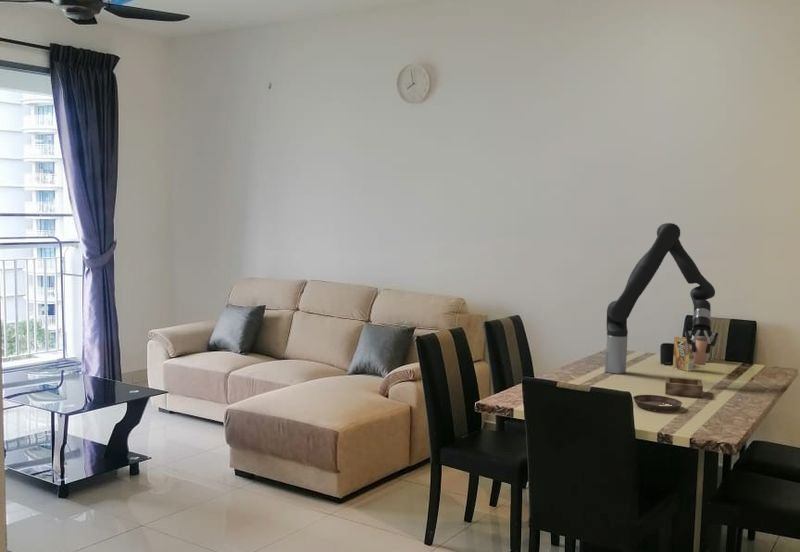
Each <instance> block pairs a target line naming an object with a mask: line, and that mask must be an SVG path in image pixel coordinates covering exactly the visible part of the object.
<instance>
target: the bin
mask: <svg viewBox="0 0 800 552" xmlns="http://www.w3.org/2000/svg"><path fill="white" fill-rule="evenodd" d="M703 385H704V384H703V381H702V379H699V378H688V377H675V376H665V386H664V387H665V389H664V390H665V391H664V392H665V393H664V395H665V394H669V395H668V396H675V395H678V396H677V397H685V396H689V398H696V399H703V392H704V391H703Z"/></svg>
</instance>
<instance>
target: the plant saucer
mask: <svg viewBox="0 0 800 552" xmlns="http://www.w3.org/2000/svg"><path fill="white" fill-rule="evenodd" d="M632 399H633V402H634V403H635V404H636V406H637V407H639V408H641V407H642V408H641V409H643V408H645V409H644V410H647V409H650V410H649V411H651V410H656V411H655V412H658V411H671V412H676V411H677V410H678V409H679V408H680V407H681V406H682V405H683V402H682V401H681V400H678V399H676V398H673V397H669V396H663V395H655V394H637V395H634V396H633V397H632ZM663 403H664V404H663ZM665 404H669V405H672V406H659V405H665ZM675 410H676V411H675Z"/></svg>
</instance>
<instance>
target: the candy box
mask: <svg viewBox="0 0 800 552" xmlns="http://www.w3.org/2000/svg"><path fill="white" fill-rule="evenodd" d="M673 338H674V339H673V344H674V356H673V366H672V369H675V368H677V369H676V370H680V369H681V371H685V370H686V371H685V372H691V371H694V365H695V364H694V352H693V351H692V345H691V344H688V343H687V340H686V336H675V337H673ZM691 340H693V339H692V338H691Z"/></svg>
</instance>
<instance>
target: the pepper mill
mask: <svg viewBox="0 0 800 552" xmlns="http://www.w3.org/2000/svg"><path fill="white" fill-rule="evenodd" d="M707 342H708V340H707V337H705V336H697V339H696V347H695V355H694V364H693V365H698V366H706V364H707V362H706V355H707Z"/></svg>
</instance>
